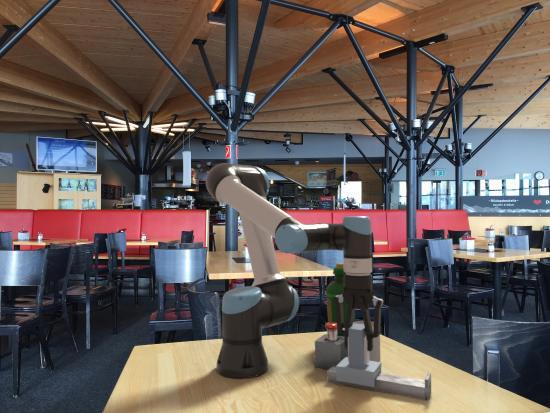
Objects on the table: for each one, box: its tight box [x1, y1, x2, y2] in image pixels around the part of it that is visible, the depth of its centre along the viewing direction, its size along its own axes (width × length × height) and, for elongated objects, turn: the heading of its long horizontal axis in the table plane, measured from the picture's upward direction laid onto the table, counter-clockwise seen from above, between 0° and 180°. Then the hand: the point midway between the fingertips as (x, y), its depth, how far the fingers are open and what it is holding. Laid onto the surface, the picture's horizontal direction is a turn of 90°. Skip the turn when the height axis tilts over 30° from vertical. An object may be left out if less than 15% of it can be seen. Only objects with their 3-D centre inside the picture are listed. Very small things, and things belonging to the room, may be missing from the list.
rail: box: [326, 365, 432, 401], centre depth 112 cm, size 26×5×5 cm, turn 63°
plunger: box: [324, 322, 337, 342], centre depth 129 cm, size 4×4×9 cm
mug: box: [352, 320, 381, 362], centre depth 136 cm, size 12×8×11 cm
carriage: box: [336, 323, 382, 387], centre depth 115 cm, size 10×8×14 cm
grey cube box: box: [314, 333, 348, 371], centre depth 129 cm, size 8×8×8 cm
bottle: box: [325, 262, 356, 337], centre depth 151 cm, size 11×11×28 cm
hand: (358, 361), depth 115 cm, fingers closed on carriage, 4 cm apart
